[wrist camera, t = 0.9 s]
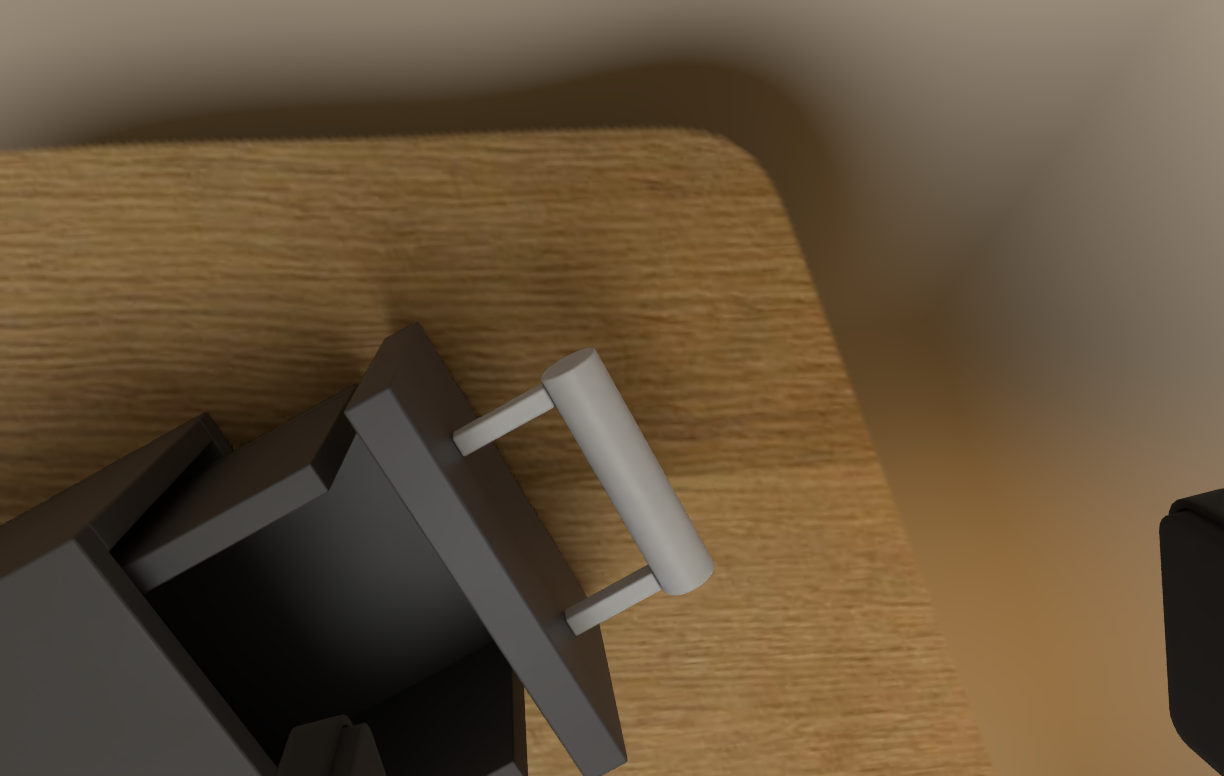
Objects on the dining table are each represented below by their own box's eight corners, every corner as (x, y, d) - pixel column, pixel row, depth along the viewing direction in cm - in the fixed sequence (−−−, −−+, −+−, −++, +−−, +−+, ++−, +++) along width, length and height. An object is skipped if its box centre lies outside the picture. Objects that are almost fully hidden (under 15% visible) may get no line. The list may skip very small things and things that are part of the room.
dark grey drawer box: (206, 410, 29) (72, 537, 20) (421, 713, 33) (391, 940, 23) (-199, 636, 29) (-516, 863, 20) (56, 911, 33) (-114, 1212, 24)
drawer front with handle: (543, 250, 28) (560, 291, 21) (711, 552, 31) (778, 682, 24) (29, 535, 29) (-137, 677, 21) (246, 805, 32) (169, 1010, 24)
